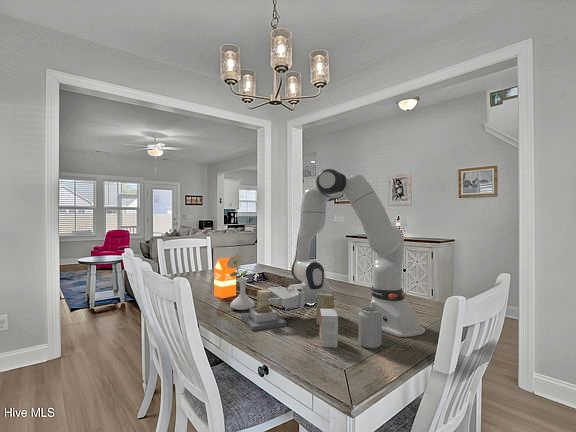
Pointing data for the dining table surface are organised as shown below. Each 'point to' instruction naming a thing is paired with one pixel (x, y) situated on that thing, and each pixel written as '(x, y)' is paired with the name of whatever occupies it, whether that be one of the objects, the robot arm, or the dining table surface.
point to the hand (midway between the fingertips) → (264, 298)
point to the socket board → (263, 319)
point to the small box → (328, 328)
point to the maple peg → (263, 301)
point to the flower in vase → (242, 300)
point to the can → (370, 327)
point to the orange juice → (224, 279)
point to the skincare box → (324, 303)
